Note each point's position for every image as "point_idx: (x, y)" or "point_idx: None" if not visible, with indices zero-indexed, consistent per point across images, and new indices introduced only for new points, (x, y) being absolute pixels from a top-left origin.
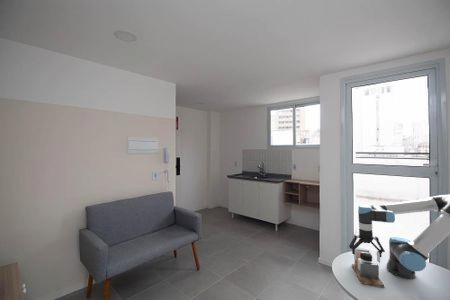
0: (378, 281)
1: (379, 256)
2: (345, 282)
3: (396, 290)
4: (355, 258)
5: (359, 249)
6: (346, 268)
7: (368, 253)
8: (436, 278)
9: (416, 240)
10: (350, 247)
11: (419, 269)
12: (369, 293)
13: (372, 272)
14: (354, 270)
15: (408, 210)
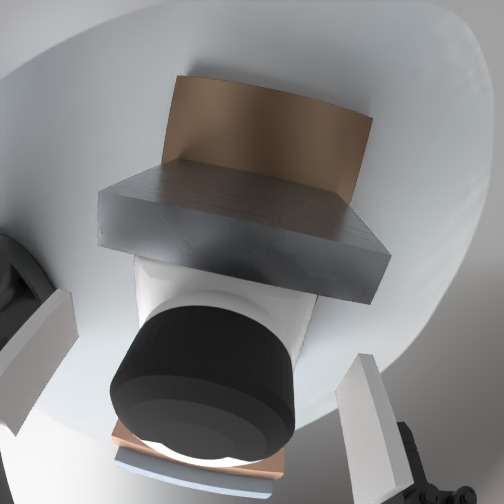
0: (197, 128)
1: (10, 346)
2: (473, 149)
3: (111, 67)
4: (375, 369)
5: (218, 488)
6: (351, 332)
7: (146, 438)
8: None
9: None
10: (471, 501)
11: None
12: (367, 7)
13: (220, 179)
14: None
15: None
